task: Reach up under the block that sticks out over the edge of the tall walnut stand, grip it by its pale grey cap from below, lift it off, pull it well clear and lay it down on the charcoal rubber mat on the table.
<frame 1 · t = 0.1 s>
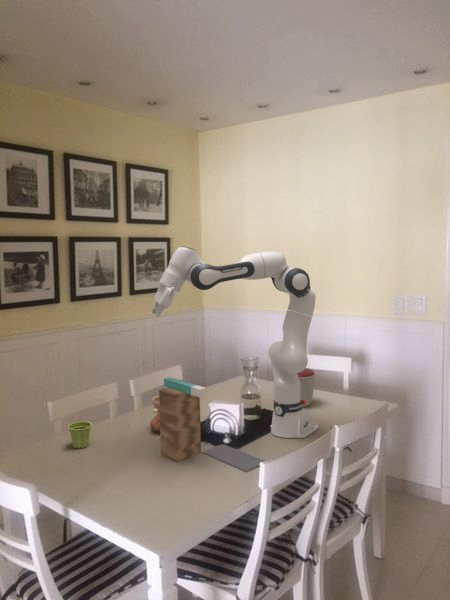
hand: (155, 314, 198), 54 cm above the table, tool tilted 30°, fingers open, 8 cm apart
block: (184, 390, 191), point 26 cm above the table, touching tall stand
ceramic jug: (167, 429, 224), on the table
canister: (298, 404, 256), on the table
mat: (233, 457, 192), on the table
plant pot: (80, 446, 206), on the table
tall stand: (180, 453, 196), on the table
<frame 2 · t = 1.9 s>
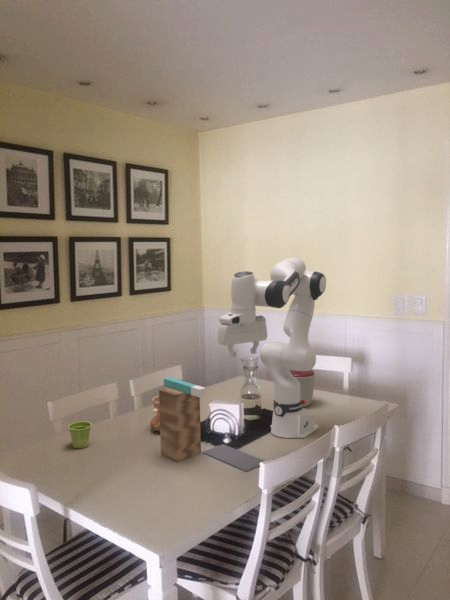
hand: (243, 355, 181), 42 cm above the table, tool pointing down, fingers open, 8 cm apart
nothing on the table moved.
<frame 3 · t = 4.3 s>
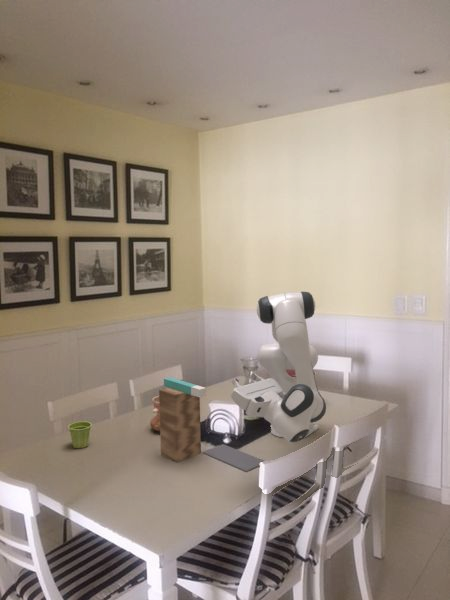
hand: (243, 377, 177), 34 cm above the table, tool pointing upward, fingers open, 8 cm apart
nothing on the table moved.
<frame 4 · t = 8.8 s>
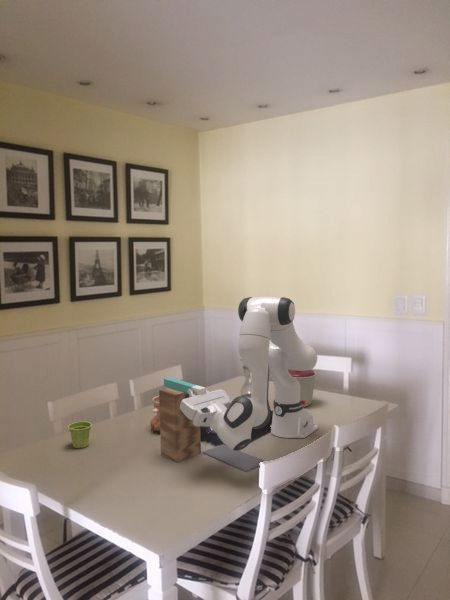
hand: (193, 388, 187), 28 cm above the table, tool pointing upward, fingers closed on block, 3 cm apart
block: (184, 390, 191), point 26 cm above the table, touching gripper, tall stand
everything else where it was.
when the fingers open (7 cm above the table, at t = 16.5 s): block drops 3 cm, resting on mat.
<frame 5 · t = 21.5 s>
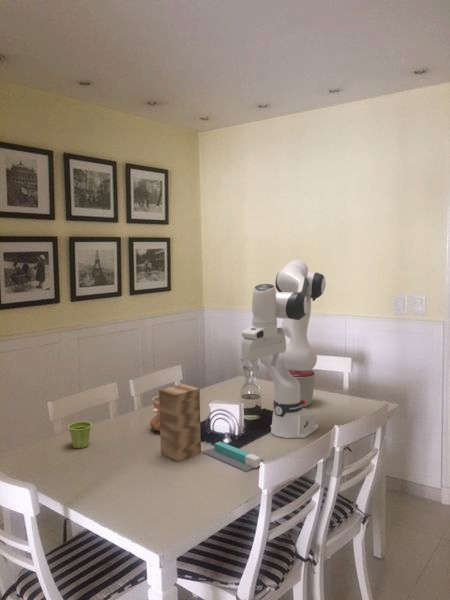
hand: (264, 368, 179), 37 cm above the table, tool pointing down, fingers open, 8 cm apart
block: (236, 457, 190), resting on mat
everything else where it was.
at the end: block inside the target area on the mat (1.6 cm from its centre), point 0.5 cm above the mat's base; the gripper is holding nothing; block touching mat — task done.
